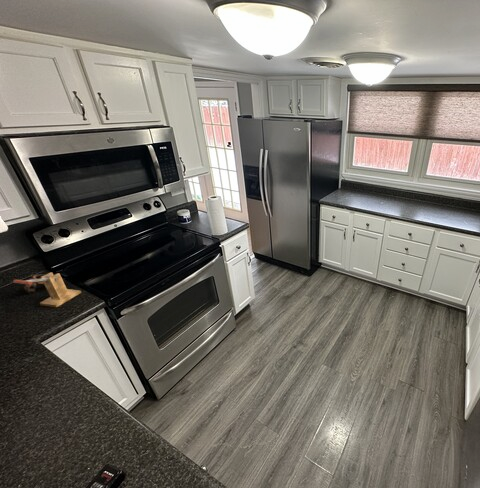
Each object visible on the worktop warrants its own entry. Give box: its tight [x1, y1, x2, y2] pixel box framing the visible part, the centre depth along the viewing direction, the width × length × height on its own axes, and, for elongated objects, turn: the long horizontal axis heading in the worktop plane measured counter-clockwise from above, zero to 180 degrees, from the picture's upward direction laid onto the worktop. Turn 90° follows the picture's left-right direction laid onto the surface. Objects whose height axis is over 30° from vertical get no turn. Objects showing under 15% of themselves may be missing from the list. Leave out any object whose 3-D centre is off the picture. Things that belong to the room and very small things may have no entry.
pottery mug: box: [23, 273, 45, 293], centre depth 136 cm, size 12×10×8 cm
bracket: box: [39, 272, 82, 308], centre depth 128 cm, size 12×9×14 cm
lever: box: [12, 274, 54, 285], centre depth 121 cm, size 13×8×2 cm, turn 172°
